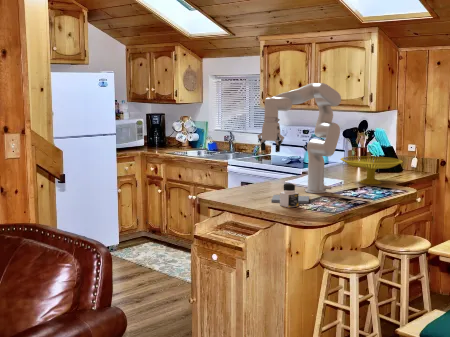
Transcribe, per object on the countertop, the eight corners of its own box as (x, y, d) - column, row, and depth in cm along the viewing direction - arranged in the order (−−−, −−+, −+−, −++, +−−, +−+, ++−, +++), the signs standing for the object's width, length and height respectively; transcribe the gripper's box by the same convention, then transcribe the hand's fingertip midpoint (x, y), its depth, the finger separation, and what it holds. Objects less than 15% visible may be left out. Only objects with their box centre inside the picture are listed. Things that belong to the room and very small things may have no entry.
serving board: (309, 198, 335) (309, 196, 335) (308, 203, 321) (308, 201, 321) (273, 197, 338) (273, 194, 338) (271, 202, 325) (271, 199, 325)
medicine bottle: (288, 207, 311) (289, 185, 310) (279, 205, 317) (279, 183, 315) (298, 206, 316) (299, 183, 314) (289, 203, 321) (289, 182, 319)
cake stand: (396, 190, 364) (397, 165, 362) (332, 184, 382) (332, 161, 379) (407, 180, 400) (408, 158, 398) (347, 175, 418) (348, 154, 415)
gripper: (288, 120, 325) (287, 152, 327) (262, 119, 336) (261, 149, 338) (280, 121, 319) (279, 153, 322) (254, 119, 330) (253, 150, 332)
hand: (270, 151), depth 330 cm, fingers open, 9 cm apart
